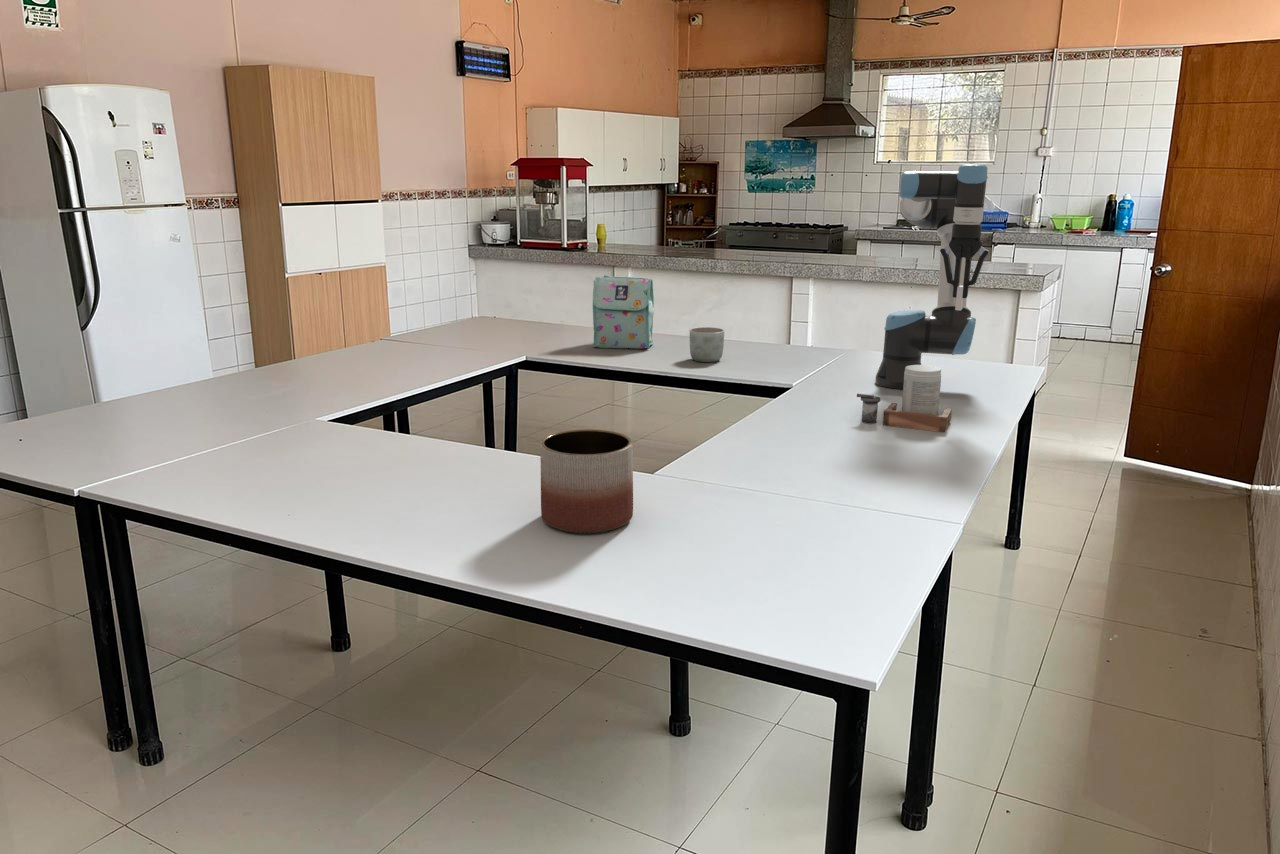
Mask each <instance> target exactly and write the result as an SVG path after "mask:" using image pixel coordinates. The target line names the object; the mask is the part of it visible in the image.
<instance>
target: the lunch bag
mask: <svg viewBox="0 0 1280 854" xmlns="http://www.w3.org/2000/svg"><path fill="white" fill-rule="evenodd" d="M654 299H655V298H654V283H653V278H648V277H647V278H646V277H638V276H637V277H636V276H635V277H634V276H611V275H609V276H608V275H605V274H604V275H603V276H595V280H593V290H592V323H593V324H592V326H593V343H592V344H593V345H592V347H593V348H594V347H596V348H598V347H601V348H600V349H628V348H629V350H630V349H632V350H633V349H636V350H637V349H639V350H640V349H642V350H643V349H646V348H647V349H649V348H650V346H651V345H654V342H653V328H654V327H653V326H654V325H653V323H654V315H655V314H654V313H655V310H654V305H655V302H654V301H655V300H654Z"/></svg>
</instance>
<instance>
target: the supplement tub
mask: <svg viewBox="0 0 1280 854" xmlns="http://www.w3.org/2000/svg"><path fill="white" fill-rule="evenodd" d="M904 373H905V374H904V385H903V389H902V400H901V402H902V403H901V404H902V405H901V411H904V412H913V413H923V414H932V415H939V410H940V397H941V396H940V395H941V385H942V384H941V383H942V368H940V367H939V366H935V365H929V364H928V365H927V364H921V365H910V366H906V367H905V372H904Z"/></svg>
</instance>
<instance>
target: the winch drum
mask: <svg viewBox="0 0 1280 854" xmlns="http://www.w3.org/2000/svg"><path fill="white" fill-rule="evenodd" d="M856 398H860V401H861V402H862V408H861V410H862V411H861V419H860V422H861V423H863V424H869V425H870V424H871V425H872V424H877V421H878V419H877V418H878V411H879V409H878V407H879V403H880V402H881V401H882V400H881V399H882V398H881V397H880V396H875V394H868V393H867V394H866V393H856Z"/></svg>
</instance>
